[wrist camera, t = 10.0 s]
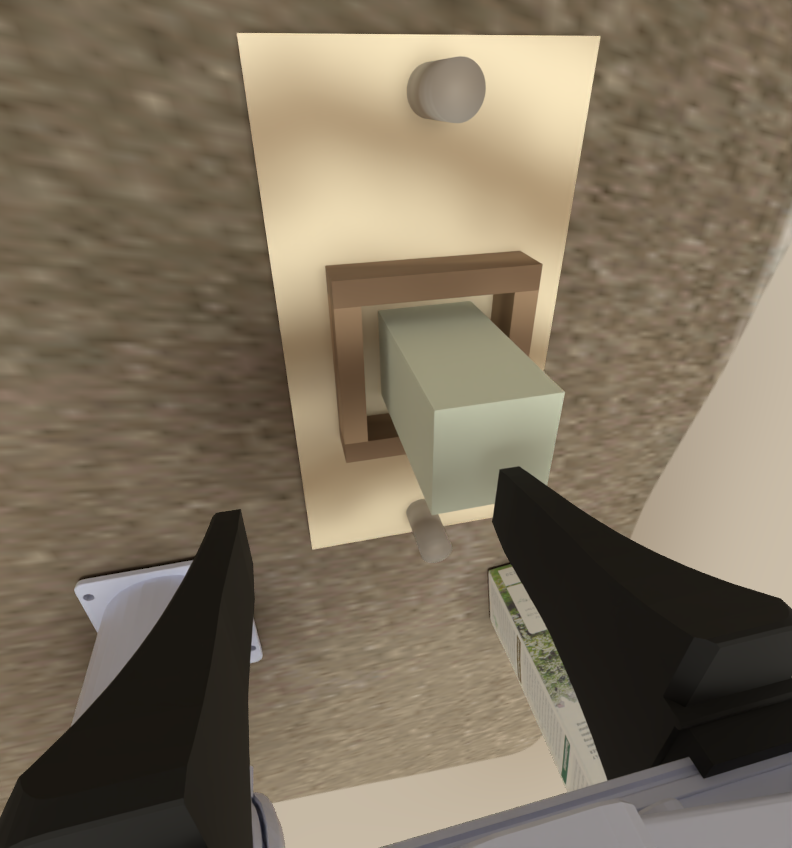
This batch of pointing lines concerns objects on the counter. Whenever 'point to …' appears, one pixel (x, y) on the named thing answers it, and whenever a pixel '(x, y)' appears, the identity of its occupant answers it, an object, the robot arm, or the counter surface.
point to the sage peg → (464, 402)
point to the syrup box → (543, 680)
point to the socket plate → (404, 229)
